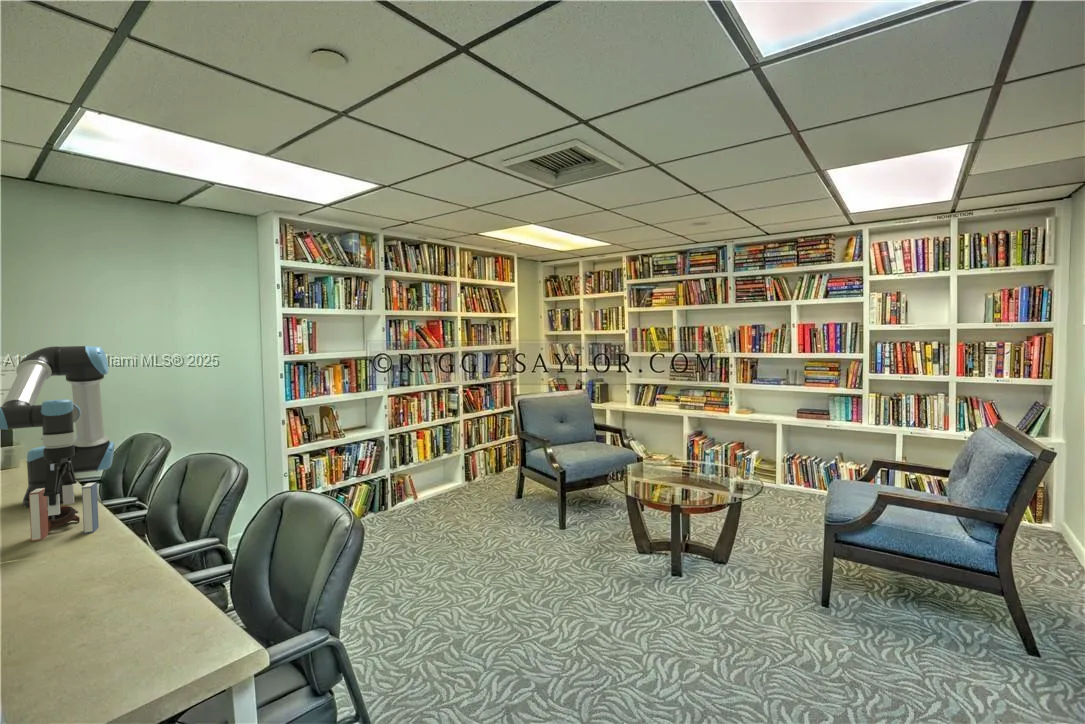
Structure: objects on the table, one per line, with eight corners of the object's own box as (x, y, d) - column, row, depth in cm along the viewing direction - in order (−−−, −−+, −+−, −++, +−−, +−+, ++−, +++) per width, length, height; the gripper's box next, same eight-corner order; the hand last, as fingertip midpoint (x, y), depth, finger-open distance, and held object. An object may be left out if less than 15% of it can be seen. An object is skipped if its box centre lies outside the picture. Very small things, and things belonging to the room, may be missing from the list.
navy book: (89, 528, 175) (87, 483, 175) (98, 527, 177) (96, 481, 176) (83, 534, 170) (81, 487, 170) (93, 532, 171) (91, 486, 171)
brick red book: (38, 535, 169) (36, 488, 169) (48, 534, 170) (46, 487, 170) (31, 541, 164) (28, 493, 163) (41, 540, 165) (39, 491, 164)
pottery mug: (90, 521, 183) (83, 505, 178) (65, 542, 174) (57, 525, 170) (59, 514, 183) (51, 498, 179) (32, 534, 175) (24, 518, 171)
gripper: (57, 441, 176) (60, 501, 176) (28, 453, 154) (31, 522, 154) (85, 439, 179) (88, 497, 180) (60, 451, 158) (63, 517, 158)
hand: (61, 509), depth 167 cm, fingers open, 13 cm apart
